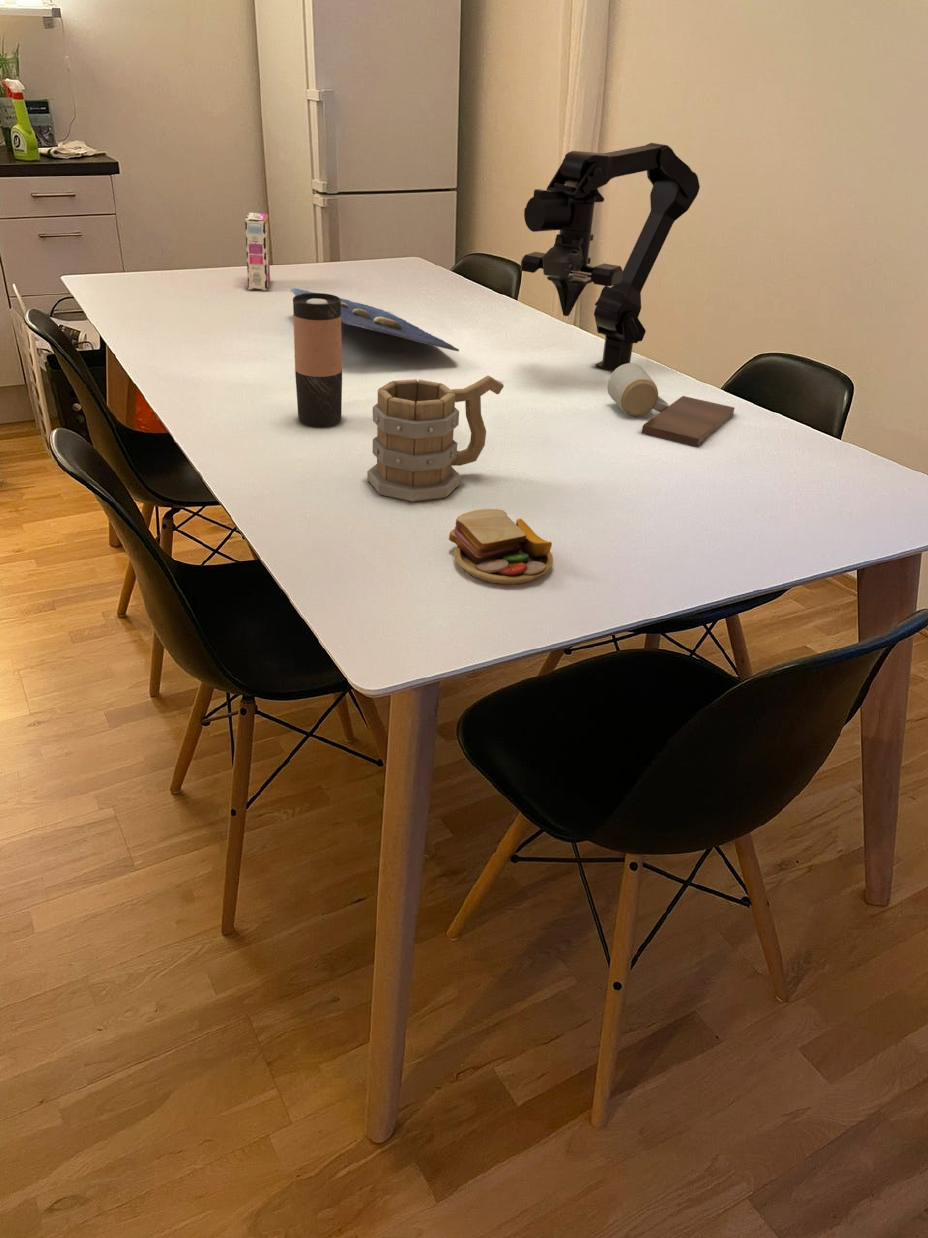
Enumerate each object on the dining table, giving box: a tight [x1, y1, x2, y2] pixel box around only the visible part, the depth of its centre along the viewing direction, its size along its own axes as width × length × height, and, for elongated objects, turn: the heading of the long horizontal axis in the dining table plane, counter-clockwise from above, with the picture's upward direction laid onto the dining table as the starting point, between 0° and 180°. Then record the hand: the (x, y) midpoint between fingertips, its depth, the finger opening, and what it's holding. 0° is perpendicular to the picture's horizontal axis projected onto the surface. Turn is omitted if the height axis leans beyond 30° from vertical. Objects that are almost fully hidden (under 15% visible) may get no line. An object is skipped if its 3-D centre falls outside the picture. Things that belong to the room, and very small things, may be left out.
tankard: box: [366, 375, 505, 503], centre depth 138 cm, size 20×13×15 cm, turn 114°
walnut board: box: [641, 395, 735, 448], centre depth 169 cm, size 20×10×2 cm, turn 149°
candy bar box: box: [244, 212, 271, 292], centre depth 235 cm, size 11×5×16 cm, turn 6°
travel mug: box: [292, 292, 343, 429], centre depth 155 cm, size 8×8×20 cm
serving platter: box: [289, 287, 460, 352], centre depth 202 cm, size 45×27×12 cm, turn 25°
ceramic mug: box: [607, 362, 670, 417], centre depth 172 cm, size 11×8×8 cm
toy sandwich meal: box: [448, 508, 554, 585], centre depth 120 cm, size 12×14×5 cm
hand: (566, 315), depth 182 cm, fingers closed
